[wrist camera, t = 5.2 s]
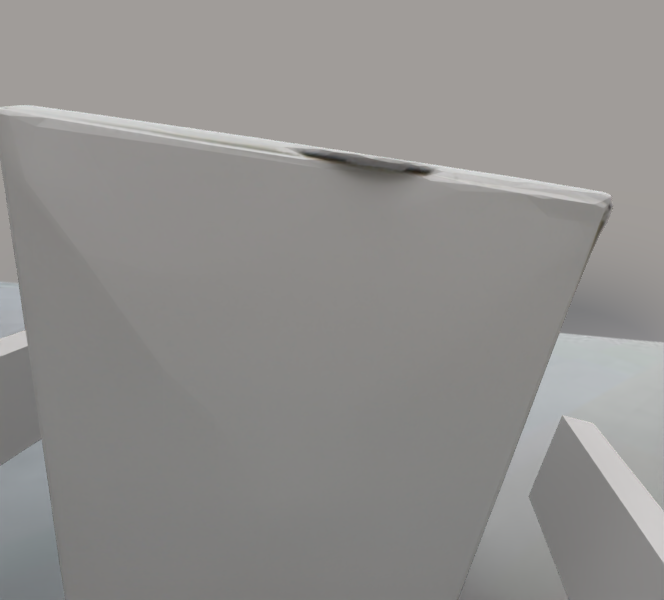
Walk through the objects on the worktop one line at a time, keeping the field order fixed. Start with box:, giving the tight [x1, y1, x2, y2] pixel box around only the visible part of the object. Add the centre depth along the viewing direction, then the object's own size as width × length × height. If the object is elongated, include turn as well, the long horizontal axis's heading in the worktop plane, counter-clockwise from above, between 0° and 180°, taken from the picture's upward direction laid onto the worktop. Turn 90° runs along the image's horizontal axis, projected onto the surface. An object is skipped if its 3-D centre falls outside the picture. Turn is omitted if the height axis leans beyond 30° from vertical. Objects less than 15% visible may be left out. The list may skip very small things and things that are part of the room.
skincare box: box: [0, 105, 613, 600], centre depth 10 cm, size 8×7×16 cm
